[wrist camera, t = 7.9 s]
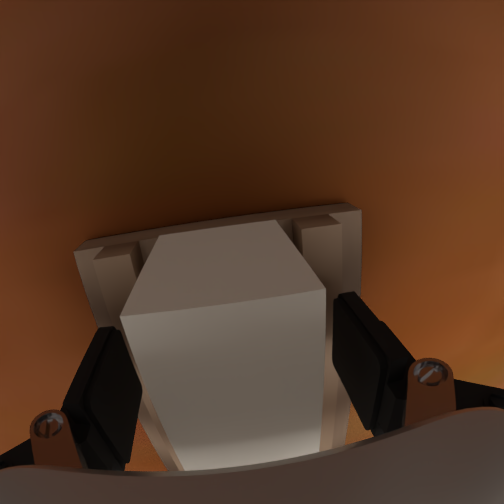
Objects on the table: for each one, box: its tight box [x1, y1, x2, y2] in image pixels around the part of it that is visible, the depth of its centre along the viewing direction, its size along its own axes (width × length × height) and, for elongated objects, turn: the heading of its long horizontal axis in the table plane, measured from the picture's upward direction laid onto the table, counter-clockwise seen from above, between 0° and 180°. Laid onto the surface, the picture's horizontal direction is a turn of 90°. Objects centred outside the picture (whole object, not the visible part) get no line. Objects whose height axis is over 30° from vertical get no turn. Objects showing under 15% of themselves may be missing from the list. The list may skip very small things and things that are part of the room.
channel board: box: [74, 203, 362, 471], centre depth 15 cm, size 20×12×6 cm, turn 6°
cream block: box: [120, 220, 326, 471], centre depth 11 cm, size 7×4×6 cm, turn 6°
